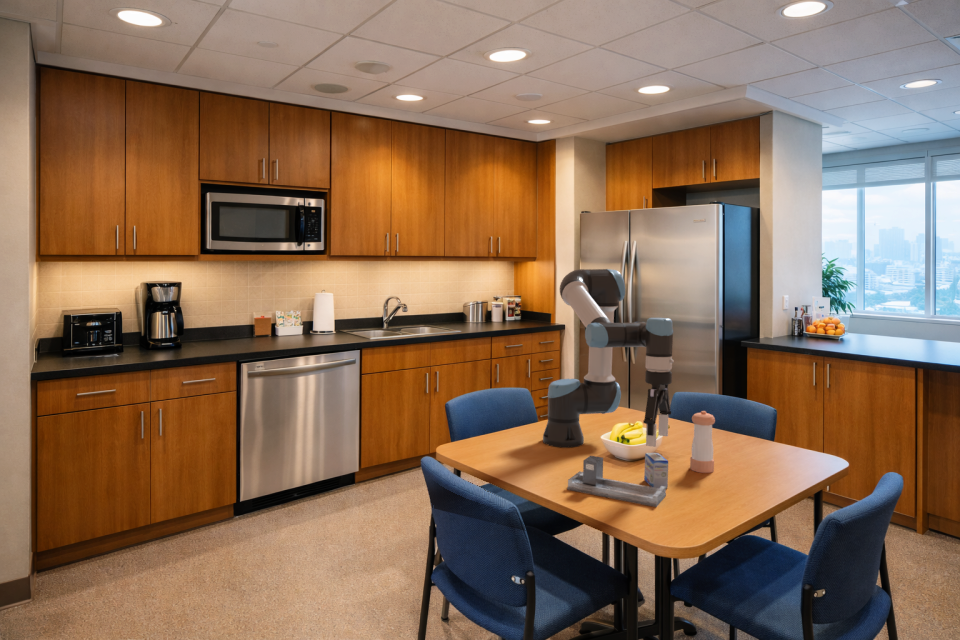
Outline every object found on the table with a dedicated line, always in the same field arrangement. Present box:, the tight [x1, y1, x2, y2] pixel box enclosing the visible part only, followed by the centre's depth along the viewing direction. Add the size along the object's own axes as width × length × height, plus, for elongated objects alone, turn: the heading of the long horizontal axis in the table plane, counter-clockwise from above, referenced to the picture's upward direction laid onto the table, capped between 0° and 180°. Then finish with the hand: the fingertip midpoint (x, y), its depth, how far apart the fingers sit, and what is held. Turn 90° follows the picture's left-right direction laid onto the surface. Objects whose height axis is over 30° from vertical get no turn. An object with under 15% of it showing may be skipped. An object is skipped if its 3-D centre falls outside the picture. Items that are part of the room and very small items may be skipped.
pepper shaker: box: [689, 410, 716, 474], centre depth 198 cm, size 7×7×19 cm
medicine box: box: [643, 452, 669, 490], centre depth 184 cm, size 8×4×9 cm, turn 5°
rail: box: [566, 455, 667, 508], centre depth 177 cm, size 26×10×9 cm, turn 59°
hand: (657, 440), depth 183 cm, fingers open, 13 cm apart
